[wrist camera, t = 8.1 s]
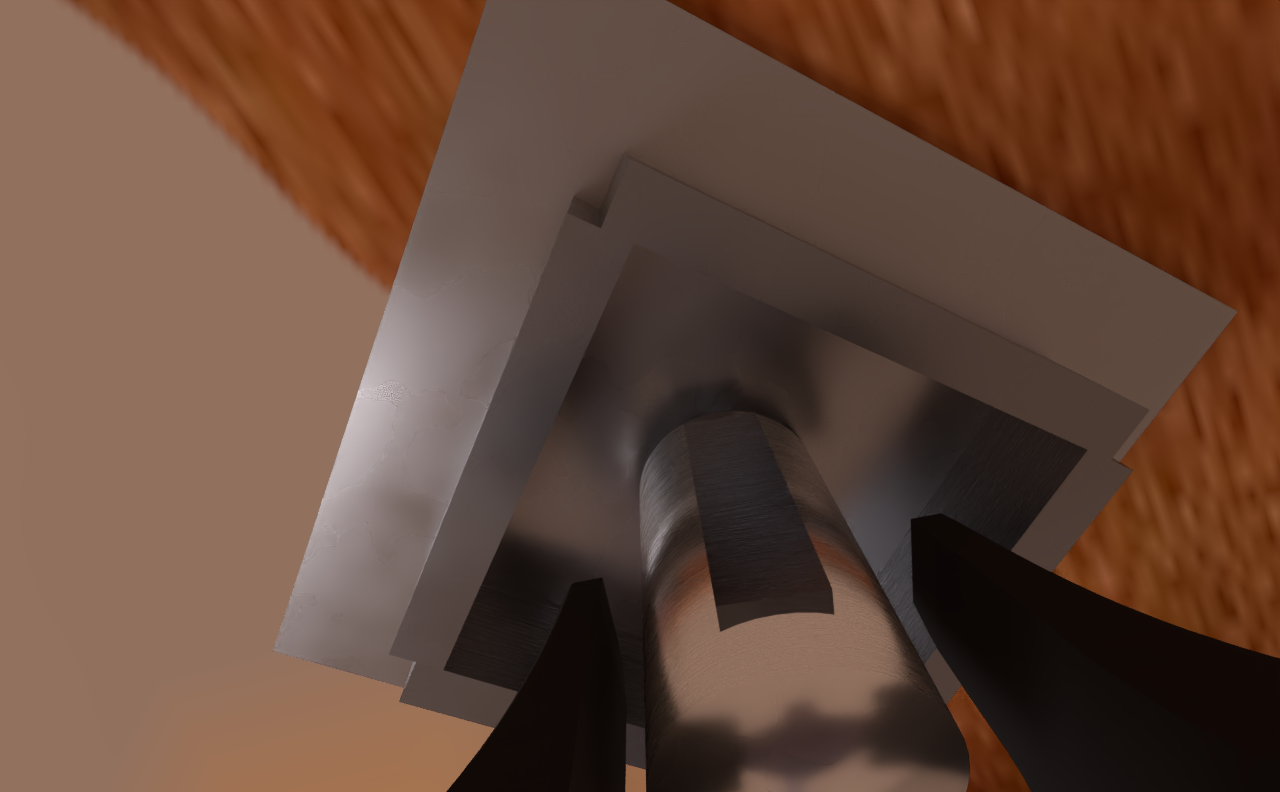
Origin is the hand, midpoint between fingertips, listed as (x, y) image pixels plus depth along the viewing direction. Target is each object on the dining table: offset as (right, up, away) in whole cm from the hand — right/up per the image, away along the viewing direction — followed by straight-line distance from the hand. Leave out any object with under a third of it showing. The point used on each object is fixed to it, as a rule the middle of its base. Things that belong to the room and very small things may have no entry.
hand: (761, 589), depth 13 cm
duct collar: (0, +2, +4) cm, 4 cm away
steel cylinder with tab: (0, +1, +3) cm, 4 cm away
